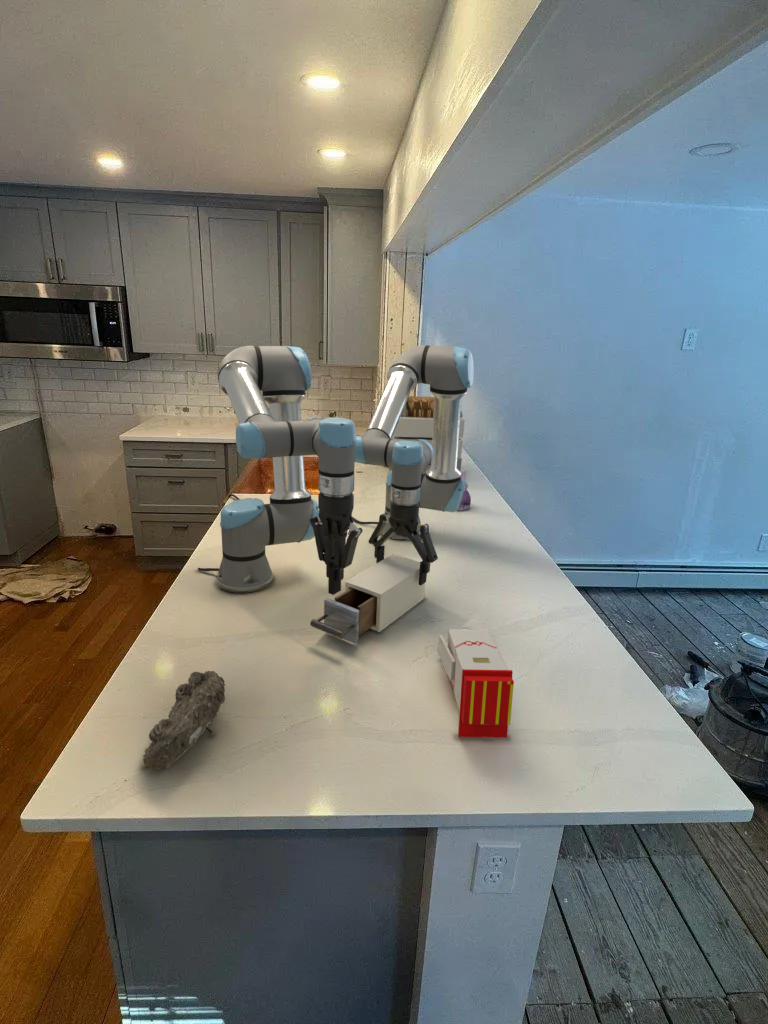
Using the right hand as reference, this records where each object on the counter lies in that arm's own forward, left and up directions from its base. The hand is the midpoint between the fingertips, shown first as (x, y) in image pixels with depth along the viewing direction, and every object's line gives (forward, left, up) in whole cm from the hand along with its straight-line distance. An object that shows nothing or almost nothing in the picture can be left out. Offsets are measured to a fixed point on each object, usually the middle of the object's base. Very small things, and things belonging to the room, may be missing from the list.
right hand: (400, 576), depth 153 cm
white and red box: (+39, -15, -7) cm, 42 cm away
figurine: (-42, +71, -7) cm, 83 cm away
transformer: (-88, +93, -7) cm, 128 cm away
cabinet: (+2, -6, -7) cm, 10 cm away
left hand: (+8, -28, +7) cm, 30 cm away
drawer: (+5, -18, -6) cm, 20 cm away
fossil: (+15, -65, -7) cm, 67 cm away
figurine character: (-139, +95, -7) cm, 169 cm away
